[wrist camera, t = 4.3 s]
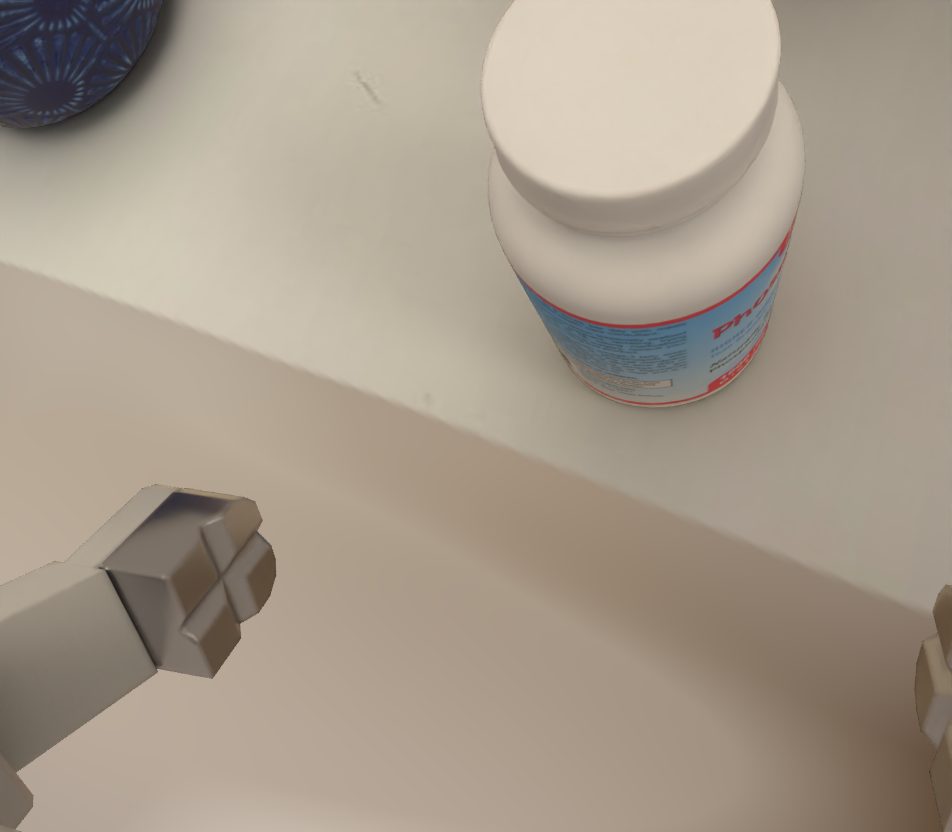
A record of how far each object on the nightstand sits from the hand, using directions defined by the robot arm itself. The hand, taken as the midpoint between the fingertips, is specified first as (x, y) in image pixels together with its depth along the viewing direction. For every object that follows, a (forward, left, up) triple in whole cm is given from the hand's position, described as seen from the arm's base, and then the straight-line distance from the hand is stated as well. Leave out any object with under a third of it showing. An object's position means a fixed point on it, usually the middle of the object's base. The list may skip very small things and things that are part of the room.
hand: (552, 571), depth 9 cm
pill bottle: (+3, -7, -12) cm, 15 cm away
